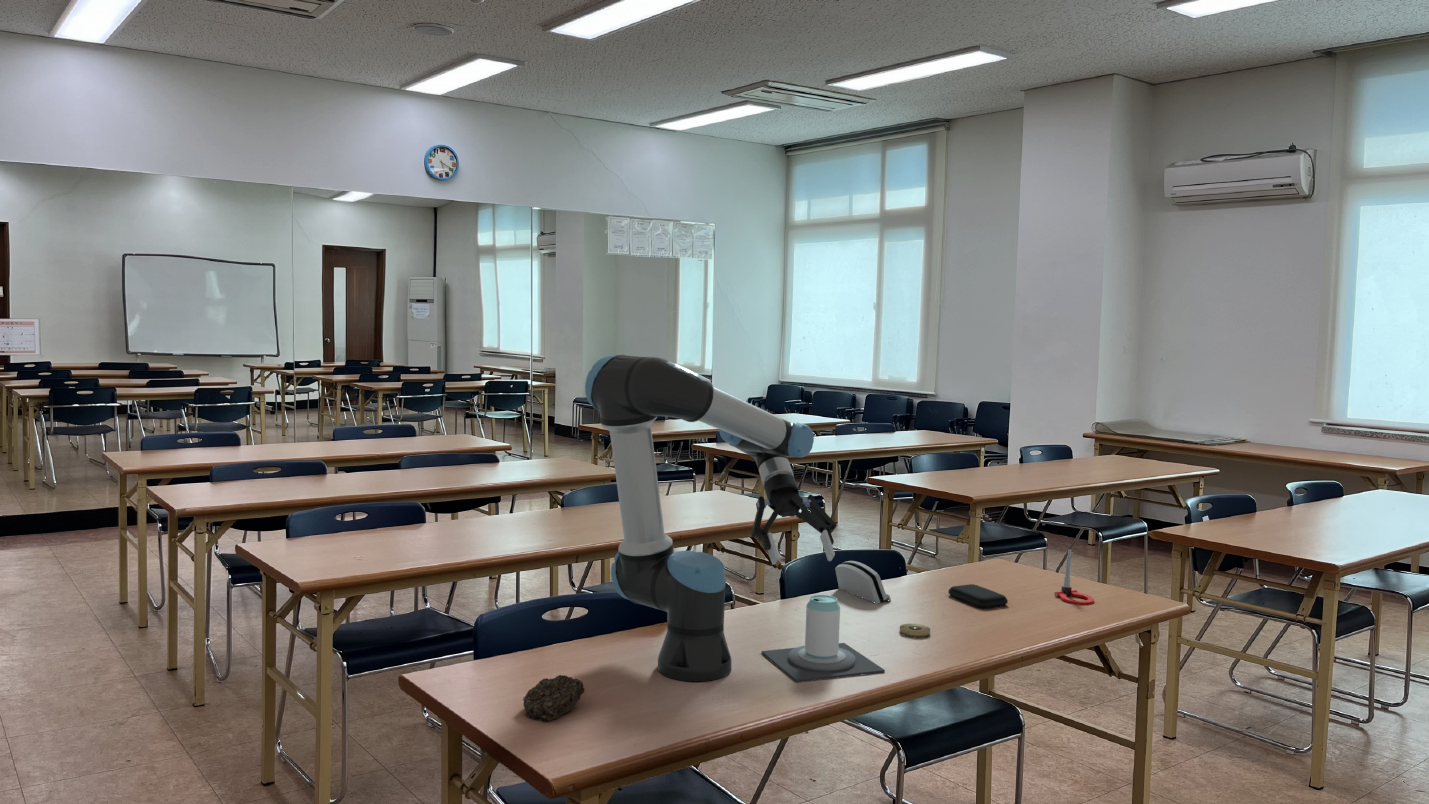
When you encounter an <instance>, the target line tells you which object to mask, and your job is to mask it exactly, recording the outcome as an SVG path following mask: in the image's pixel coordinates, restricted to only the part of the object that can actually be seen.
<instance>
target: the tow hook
mask: <svg viewBox="0 0 1429 804" xmlns="http://www.w3.org/2000/svg"><path fill="white" fill-rule="evenodd" d="M1071 556H1072V549H1068V550H1067V557H1066V564H1065V572H1064V573H1065V575H1064V578H1063V586H1062V585H1061V591H1055V592H1054V597H1055V598H1059V599H1060V600H1061V601H1063V602H1066V603H1067V602H1070V603H1069V604H1071V603H1072V604H1071V605H1077V604H1080V605H1079V606H1088V605H1089V604H1090V605H1093V604H1094V603H1095V599H1094V597H1092V596H1091V595H1088V594H1085V593H1080V592H1078V590H1077V589H1072V588H1073V587H1071V567H1072V557H1071ZM1070 596H1071V597H1073V598H1074V597H1075V598H1082V599H1084V600H1076V599H1072V598H1069V597H1070Z"/></svg>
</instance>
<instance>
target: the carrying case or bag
mask: <svg viewBox="0 0 1429 804" xmlns="http://www.w3.org/2000/svg"><path fill="white" fill-rule="evenodd" d="M948 595H949V596H950V597H951V598H953V597H954V599H956V600H958V601H961V602H964V603H965V602H966V603H965V604H969V605H970V604H971V606H972V607H973V606H974V607H976V608H979V609H993V608H1001V607H1004V606H1006V605H1007V604H1008V602H1009V600H1008V598H1007V597H1006V596H1005V595H1004V594H1001V593H998V592H996V591H994V590H990V589H988V588H986V587H984V586H983V587H982V586H980V585H978V584H973V583H971V584H969V583H968V584H961V585H953V586H951V587H950V588H949V589H948ZM1000 606H1001V607H1000Z"/></svg>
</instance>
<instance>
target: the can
mask: <svg viewBox="0 0 1429 804" xmlns="http://www.w3.org/2000/svg"><path fill="white" fill-rule="evenodd" d="M840 619H841V606H840V604H839V602H838V598H837V597H835V596H832V595H826V594H824V595H823V594H816V595H811V596H810V597H809V601H808V602H807V603H806V612H805V636H804V637H805V638H804V646H805V651H806V652H807V653H808V654H809V655H810V656H812V657H815V658H823V659H825V658H832V657H834V656H835V655H836V654H838V649H839V643H840Z"/></svg>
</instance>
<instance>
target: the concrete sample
mask: <svg viewBox="0 0 1429 804" xmlns="http://www.w3.org/2000/svg"><path fill="white" fill-rule="evenodd" d="M585 691H586V690H585V687H584V683H583V681H582V680H580V679H579V678H573V677H572V676H568V675H563V674H559V675H557V676H556V677H554V678H547V677H546V678H542V679H541V680H540V681H539V682H538V683H537V684H536V685H535V686H533V687H532V688H529V689H528V691H527V692H526V694H525V696H524V697H523V698H522V700H523V703H522V704H523V707H524V715H525V716H526V717H527V718H531V719H535V720H539V721H540V722H545V721H549V722H551V721H552V720H554V719H558V718H559V717H560V716H561V715H563V714H566V713H567V712H569V711H571V710H574V709H575V707H576V705H577V703H578V701H580V699H581V697H582V695H583V694H584V693H585Z"/></svg>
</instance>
